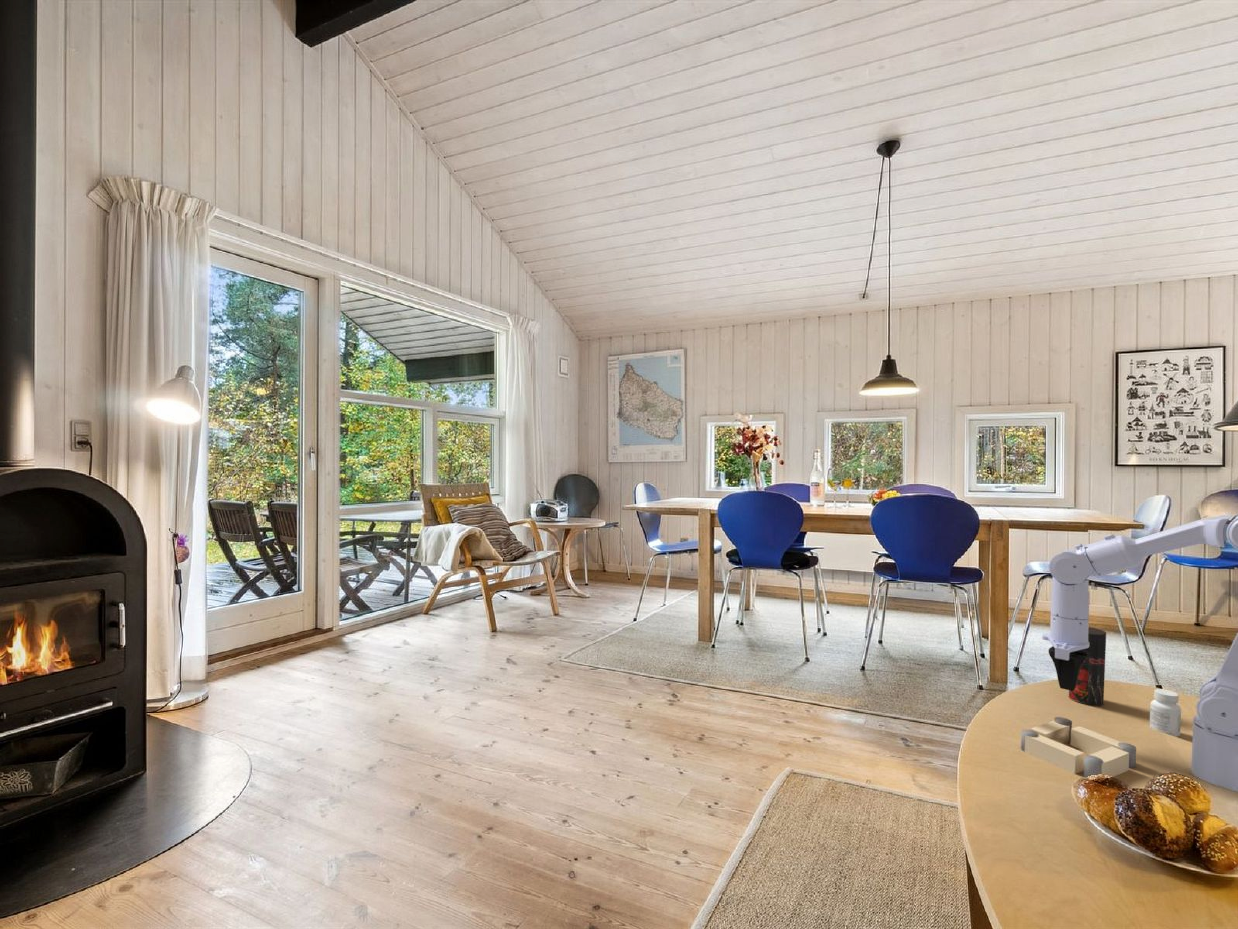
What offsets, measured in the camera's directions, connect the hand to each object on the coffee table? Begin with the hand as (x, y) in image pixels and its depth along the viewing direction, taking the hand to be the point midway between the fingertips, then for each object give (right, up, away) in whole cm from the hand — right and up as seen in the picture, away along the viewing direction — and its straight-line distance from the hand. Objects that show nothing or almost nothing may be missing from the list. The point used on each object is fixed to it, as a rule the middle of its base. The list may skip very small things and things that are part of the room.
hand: (1067, 688), depth 116 cm
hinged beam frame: (-4, -10, -8) cm, 13 cm away
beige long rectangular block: (-5, -9, -3) cm, 10 cm away
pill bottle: (+21, -10, +3) cm, 23 cm away
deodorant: (+17, -9, +18) cm, 26 cm away
